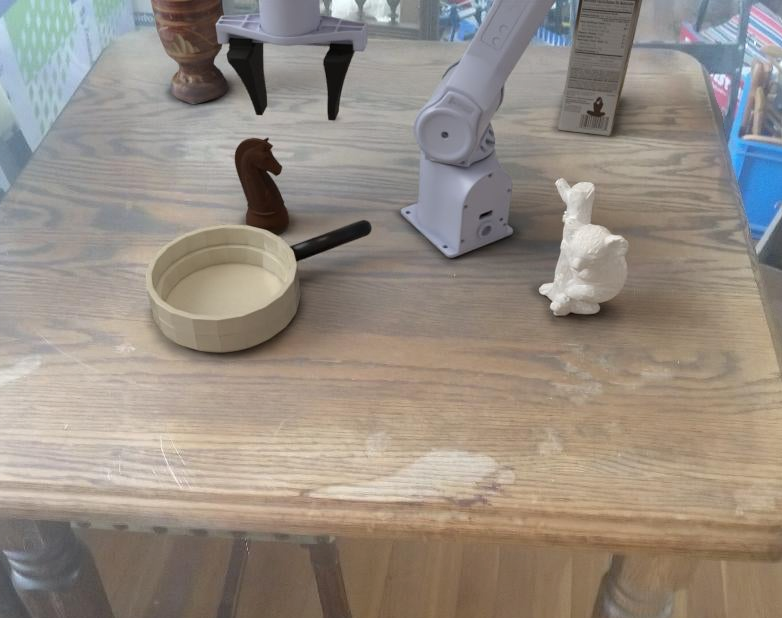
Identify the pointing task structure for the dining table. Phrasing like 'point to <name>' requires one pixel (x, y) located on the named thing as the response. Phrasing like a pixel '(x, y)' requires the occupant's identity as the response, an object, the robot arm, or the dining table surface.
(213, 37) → the painted clay vase
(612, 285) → the koala figurine
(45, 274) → the dining table surface
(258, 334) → the pan
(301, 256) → the pan handle
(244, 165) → the chess piece
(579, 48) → the coffee box
